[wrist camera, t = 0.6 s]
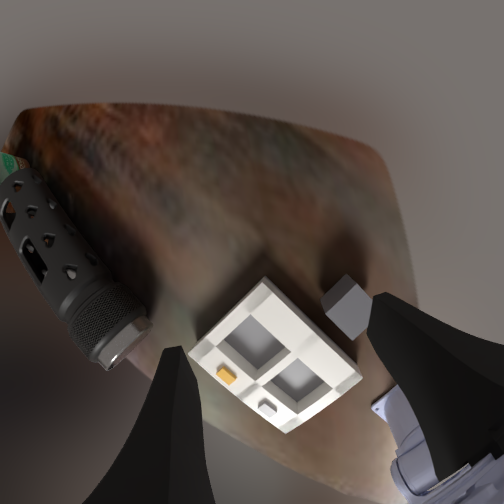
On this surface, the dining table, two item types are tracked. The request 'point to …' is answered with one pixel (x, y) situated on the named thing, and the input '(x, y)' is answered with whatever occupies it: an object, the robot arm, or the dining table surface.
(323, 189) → the dining table surface
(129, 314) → the muzzle brake
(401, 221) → the dining table surface
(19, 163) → the food container
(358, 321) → the plug
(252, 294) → the double socket
